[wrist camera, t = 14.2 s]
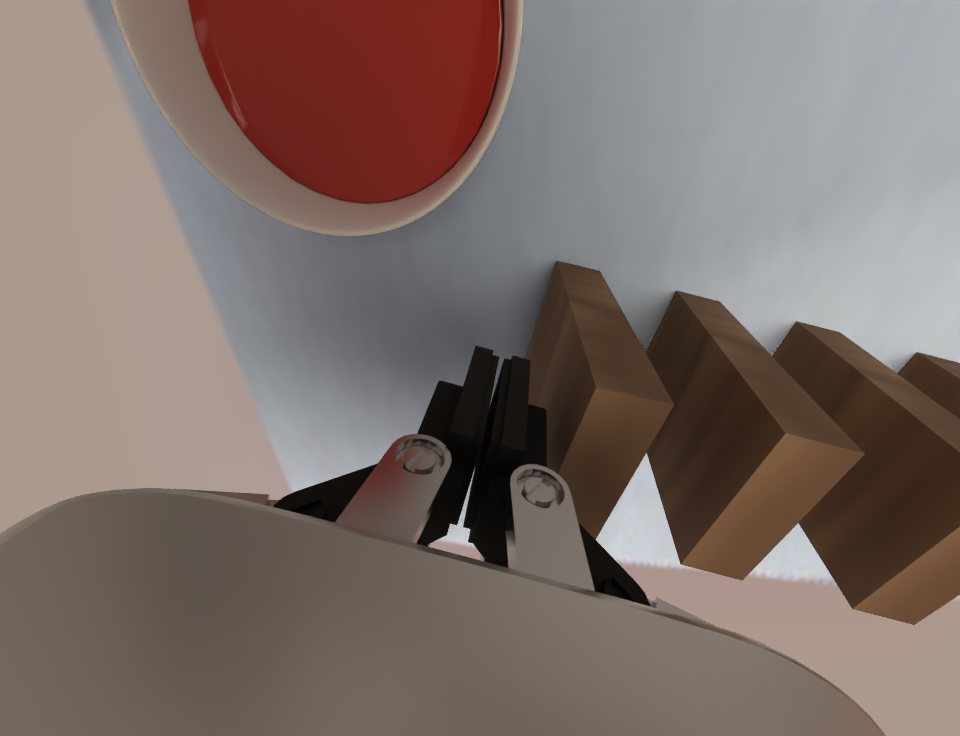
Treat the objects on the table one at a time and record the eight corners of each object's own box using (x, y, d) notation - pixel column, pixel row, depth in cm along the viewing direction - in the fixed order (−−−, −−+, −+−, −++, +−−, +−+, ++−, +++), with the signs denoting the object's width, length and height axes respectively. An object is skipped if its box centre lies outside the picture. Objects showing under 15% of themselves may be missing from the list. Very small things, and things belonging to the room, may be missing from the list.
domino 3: (731, 415, 19) (852, 608, 12) (796, 321, 17) (1006, 490, 9) (768, 425, 19) (914, 624, 12) (839, 332, 17) (1086, 510, 9)
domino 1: (523, 364, 19) (532, 529, 12) (556, 261, 17) (596, 387, 9) (561, 372, 19) (594, 541, 12) (599, 271, 17) (674, 404, 9)
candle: (590, 50, 13) (621, 4, 8) (415, 245, 17) (356, 302, 12) (371, -248, 11) (200, -607, 5) (226, 61, 15) (44, 28, 9)
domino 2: (627, 389, 19) (680, 564, 12) (676, 290, 17) (785, 433, 9) (664, 399, 19) (742, 580, 12) (719, 301, 17) (864, 453, 9)
